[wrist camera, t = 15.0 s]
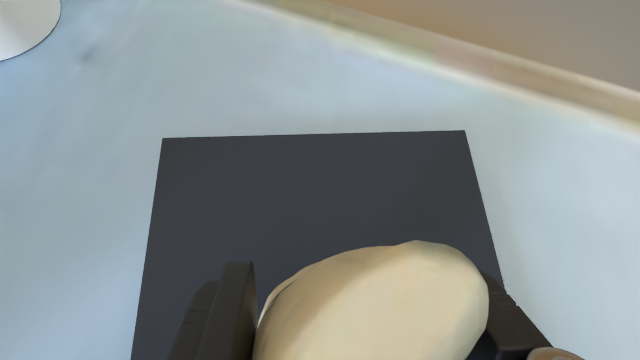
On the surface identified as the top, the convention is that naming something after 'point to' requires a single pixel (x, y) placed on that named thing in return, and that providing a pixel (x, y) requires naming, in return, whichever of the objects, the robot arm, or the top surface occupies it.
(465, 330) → the cream kidney bean
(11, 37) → the cylindrical container
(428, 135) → the slate mat
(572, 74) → the top surface
